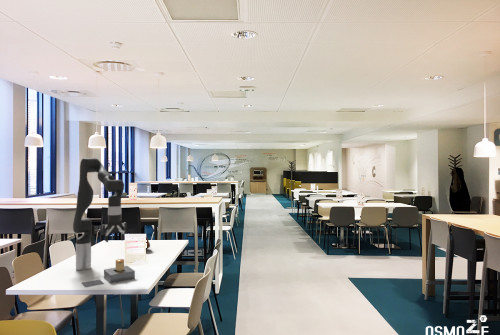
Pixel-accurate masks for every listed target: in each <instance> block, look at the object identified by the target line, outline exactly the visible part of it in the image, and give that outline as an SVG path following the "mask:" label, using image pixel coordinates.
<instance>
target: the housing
mask: <svg viewBox="0 0 500 335" xmlns="http://www.w3.org/2000/svg"><path fill="white" fill-rule="evenodd" d="M135 272H136V270H134V269H132V268H131V267H130V266H128V265H124V271H120V272H116V267H111V268H104V269H103V278H104V280H106V281H107V282H108V283H110V284H113V283H119V282H124V281H131V280H135V277H136V276H135V274H136V273H135Z"/></svg>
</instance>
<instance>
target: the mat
mask: <svg viewBox="0 0 500 335" xmlns="http://www.w3.org/2000/svg"><path fill="white" fill-rule="evenodd" d="M81 284H82V285H83V287H84V288H89V287H96V286H100V285H104V284H105V283H104V282H103V281H102V280H101V278H99V279H94V280H89V281H83V282H81Z"/></svg>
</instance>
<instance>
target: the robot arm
mask: <svg viewBox="0 0 500 335" xmlns="http://www.w3.org/2000/svg"><path fill="white" fill-rule="evenodd" d="M88 173H97V179H98V181H100V182H101V184H103V187H104V189H105V191H106V192H108V193H114V194H113V195H111V196H109V197H108V198H107V199H108V201H107V202H108V203H107V204H108V205H107V206H108V207H107V224H102V225H101V235H102V236H104V241H105V243H109V235H110V233H111V232H115V231H116V232H120V233H121V234H120V240H121V241H124V239H125V234H127V233H128V223H127V222H125V221H124V222H122V196H123V193H124V190H125V183H124V182H123V180H122V179H115V178H114V175H113V174H111V173H110V172H109V171H107V170H106V168H105V167H104V165H103V164H102V162H101V160H99V159H98V158H96V157H85V158H84V157H83V158H81V159H80V164H79V183H78V191H77V197H76V208H75V214H74V218H73V222H72V230H73V232H74V233H75V234H82V233H83V234H82V235H81V236H79V237H77V238H76V239H75V270H76V271H85V270H89V269H91V268H92V235H93V234H92V233H93V232H92V231H93V222H92V219H91V218H89V217H85V218H83V216H84V214H85V212H86V211H87V210H88V208H89V207H90V206H91V204H92V202H93V199H94V190H93V187H92V186H91V184H90V182H89V180H88ZM122 227H123V229H122ZM106 228H107V229H106Z"/></svg>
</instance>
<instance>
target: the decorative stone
mask: <svg viewBox="0 0 500 335" xmlns="http://www.w3.org/2000/svg"><path fill="white" fill-rule="evenodd" d="M145 238H146V240H147V242H146V243H147V249H150V248H151V243H150V242H149V238H147V237H145Z"/></svg>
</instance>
